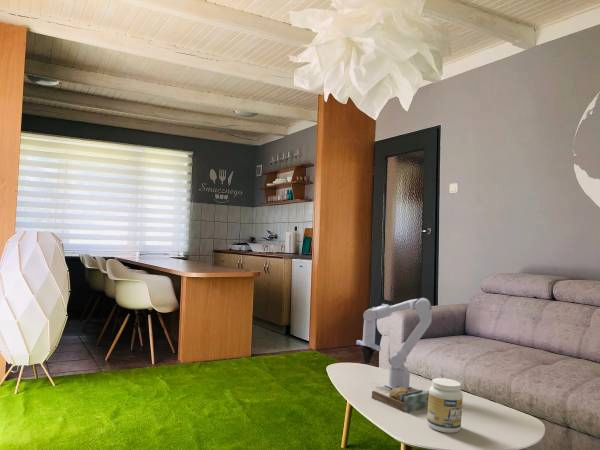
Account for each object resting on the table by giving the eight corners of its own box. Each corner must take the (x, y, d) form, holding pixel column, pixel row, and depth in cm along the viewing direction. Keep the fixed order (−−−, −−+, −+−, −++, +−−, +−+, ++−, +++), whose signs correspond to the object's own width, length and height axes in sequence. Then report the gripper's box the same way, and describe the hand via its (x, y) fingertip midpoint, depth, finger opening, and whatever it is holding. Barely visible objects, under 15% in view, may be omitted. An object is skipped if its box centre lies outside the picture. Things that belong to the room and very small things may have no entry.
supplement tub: (446, 436, 174) (449, 388, 174) (420, 424, 183) (422, 379, 184) (467, 430, 181) (470, 384, 181) (440, 419, 191) (443, 375, 191)
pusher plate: (420, 402, 208) (421, 389, 208) (421, 403, 207) (422, 390, 207) (399, 407, 200) (400, 394, 200) (401, 408, 199) (401, 394, 199)
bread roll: (386, 409, 208) (384, 394, 205) (394, 393, 216) (392, 379, 213) (409, 415, 203) (407, 399, 200) (416, 398, 211) (415, 383, 208)
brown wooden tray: (397, 392, 220) (398, 379, 220) (432, 406, 205) (432, 391, 205) (371, 398, 210) (372, 384, 211) (406, 412, 195) (407, 397, 195)
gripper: (352, 331, 237) (350, 359, 237) (374, 337, 225) (372, 367, 225) (363, 330, 241) (361, 358, 241) (384, 336, 230) (382, 365, 229)
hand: (367, 362), depth 233 cm, fingers closed
